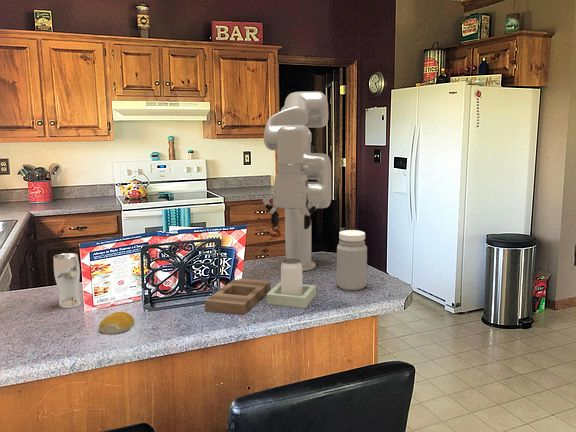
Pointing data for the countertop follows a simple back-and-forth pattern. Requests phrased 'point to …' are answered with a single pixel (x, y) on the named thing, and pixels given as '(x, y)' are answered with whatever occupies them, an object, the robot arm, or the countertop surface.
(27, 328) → the countertop surface
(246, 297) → the walnut holder
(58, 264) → the beer glass
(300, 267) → the can
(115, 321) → the bread roll
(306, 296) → the sage holder
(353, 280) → the jar
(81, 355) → the countertop surface
